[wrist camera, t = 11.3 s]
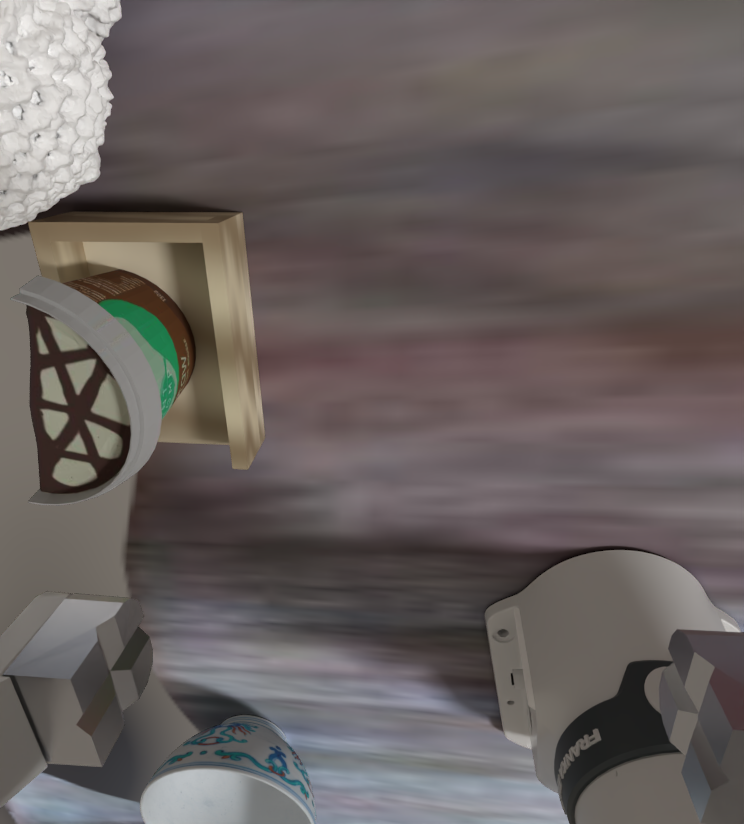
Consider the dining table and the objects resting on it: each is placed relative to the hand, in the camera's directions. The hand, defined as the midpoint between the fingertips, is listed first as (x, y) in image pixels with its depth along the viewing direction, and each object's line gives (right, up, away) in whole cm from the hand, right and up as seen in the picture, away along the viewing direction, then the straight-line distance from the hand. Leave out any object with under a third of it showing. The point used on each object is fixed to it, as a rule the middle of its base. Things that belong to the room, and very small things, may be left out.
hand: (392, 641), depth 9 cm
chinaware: (-12, -28, +47) cm, 56 cm away
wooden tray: (-13, +9, +29) cm, 33 cm away
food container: (-13, +8, +28) cm, 32 cm away
